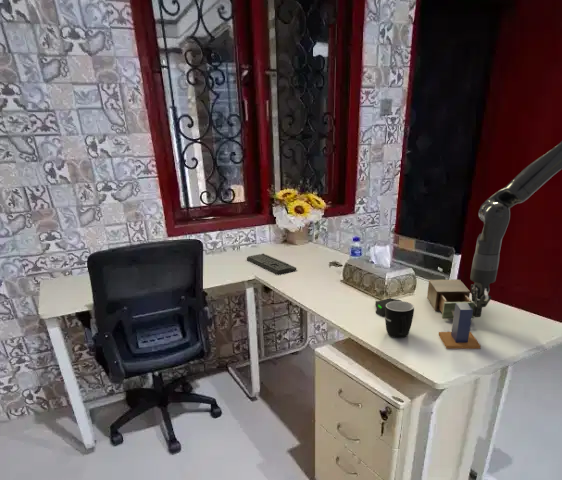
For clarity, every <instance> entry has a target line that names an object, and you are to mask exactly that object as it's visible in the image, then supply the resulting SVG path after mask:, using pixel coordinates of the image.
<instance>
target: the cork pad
mask: <svg viewBox="0 0 562 480" xmlns="http://www.w3.org/2000/svg"><path fill="white" fill-rule="evenodd" d="M451 332H452V331H438V336H439V339H440V340H441V342H442V343H443V345H444V348H445V349H446V350H447V349H449V350H450V349H452V350H453V349H456V350H457V349H458V350H461V349H462V350H463V349H464V350H465V349H467V350H468V349H469V350H471V349H473V350H474V349H475V350H478V349H479V350H480V349H481V344H480V343H479V341H478V340H477V339H476V337H475V336H474V334H473V333H472V332H471V331H469V337H468V342H467V343H456V342H455V340H454V339H453V337H452V336H451Z"/></svg>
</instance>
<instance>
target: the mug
mask: <svg viewBox="0 0 562 480" xmlns="http://www.w3.org/2000/svg"><path fill="white" fill-rule="evenodd" d="M414 313H415V305H414V304H413V303H411V302H409V301H404V300H401V301H392V302H389V303H387V304H386V307H385V317H384V318H385V319H384V320H385V330H386V333H387V334H388V335H389V337H391V338H395V339H402V338H403V339H404V338H406V337H407V336H408V335H409V333H410V331H411V327H412V324H413V320H414Z"/></svg>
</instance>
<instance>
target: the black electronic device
mask: <svg viewBox="0 0 562 480" xmlns="http://www.w3.org/2000/svg"><path fill="white" fill-rule="evenodd" d="M392 301H402V300H401V299H396V298H392V297H389V298H385V299H382V300H375V301H374V302H375V303H374V305H375V308H376V310H375V313H376V315H377V316H379V317H382V318H385V307H386V304H387V303H389V302H392Z"/></svg>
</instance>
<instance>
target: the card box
mask: <svg viewBox="0 0 562 480" xmlns="http://www.w3.org/2000/svg"><path fill="white" fill-rule="evenodd" d="M472 313H473V309H472V308H471V307H470V305H469V304H468V303H456V304H455V311H454V318H453V319H452V325H451V326H452V327H451V331H450V332H451V336H452V337H453V339H454V340H455V342H456V343H467V342H468V337H469V332H471V331H470V330H471V325H472V319H473V318H472Z"/></svg>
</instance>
